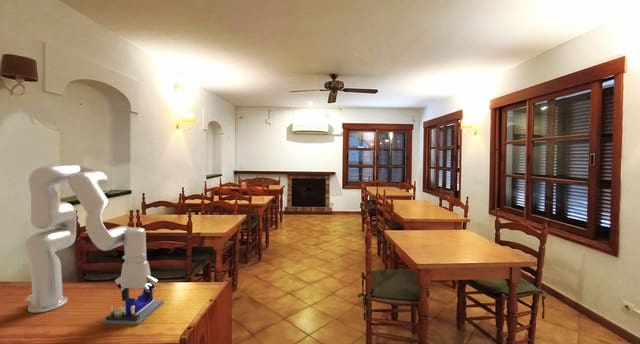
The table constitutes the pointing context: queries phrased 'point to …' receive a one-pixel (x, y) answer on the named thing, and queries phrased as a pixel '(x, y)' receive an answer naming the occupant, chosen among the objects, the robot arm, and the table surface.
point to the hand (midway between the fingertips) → (137, 299)
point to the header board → (137, 313)
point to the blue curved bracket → (137, 302)
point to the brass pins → (123, 314)
